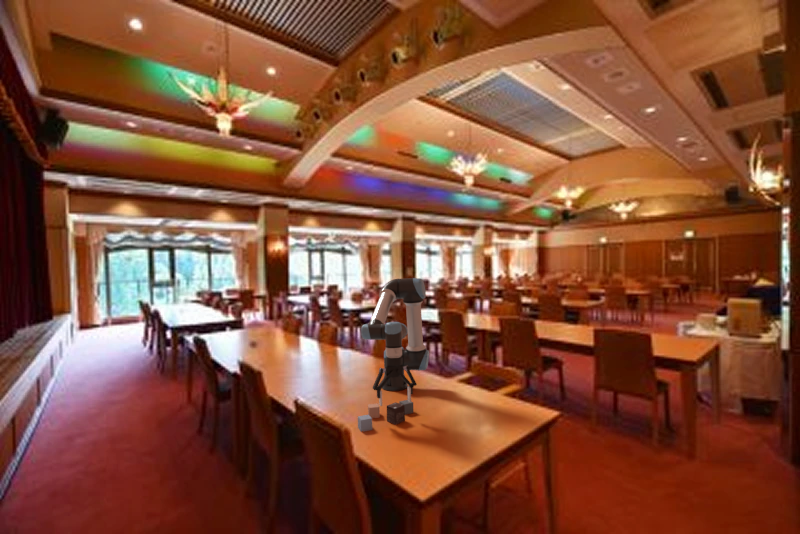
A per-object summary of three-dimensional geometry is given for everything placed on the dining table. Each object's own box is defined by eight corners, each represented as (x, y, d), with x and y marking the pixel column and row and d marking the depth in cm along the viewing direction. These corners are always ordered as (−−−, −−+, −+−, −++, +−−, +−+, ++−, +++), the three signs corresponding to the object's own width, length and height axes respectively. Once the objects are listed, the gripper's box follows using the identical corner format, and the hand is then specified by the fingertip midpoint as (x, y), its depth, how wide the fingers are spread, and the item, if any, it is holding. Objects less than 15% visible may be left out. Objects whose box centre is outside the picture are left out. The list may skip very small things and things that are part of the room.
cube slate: (357, 427, 167) (357, 416, 167) (368, 425, 169) (368, 414, 169) (361, 432, 163) (360, 420, 163) (372, 429, 164) (371, 418, 165)
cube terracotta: (368, 414, 182) (367, 404, 182) (378, 413, 183) (378, 403, 183) (369, 418, 177) (368, 407, 178) (379, 417, 178) (379, 406, 178)
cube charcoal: (399, 411, 185) (399, 401, 185) (408, 409, 187) (408, 399, 188) (404, 414, 181) (404, 404, 181) (413, 412, 183) (413, 402, 183)
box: (396, 417, 177) (395, 401, 178) (405, 421, 173) (404, 404, 173) (386, 421, 173) (386, 405, 173) (395, 425, 169) (395, 408, 169)
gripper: (369, 360, 166) (370, 409, 166) (422, 355, 174) (423, 402, 173) (365, 357, 174) (366, 404, 173) (417, 352, 181) (418, 397, 180)
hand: (395, 403), depth 173 cm, fingers open, 13 cm apart
